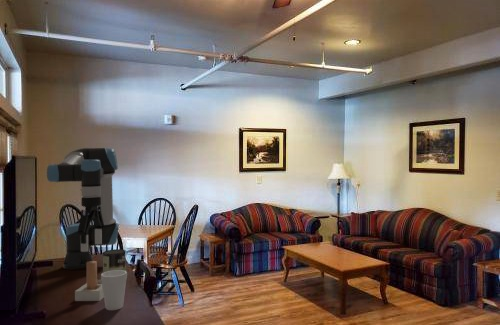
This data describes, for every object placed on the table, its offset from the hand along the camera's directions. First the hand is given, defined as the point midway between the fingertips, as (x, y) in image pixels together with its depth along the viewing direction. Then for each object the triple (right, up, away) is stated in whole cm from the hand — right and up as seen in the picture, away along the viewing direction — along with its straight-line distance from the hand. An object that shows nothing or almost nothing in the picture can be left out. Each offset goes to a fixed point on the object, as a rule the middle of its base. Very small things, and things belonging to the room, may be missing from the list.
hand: (91, 247), depth 158 cm
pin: (0, -20, 0) cm, 20 cm away
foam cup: (+14, -20, -12) cm, 27 cm away
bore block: (0, -21, +3) cm, 21 cm away
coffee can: (+2, -21, +21) cm, 30 cm away
